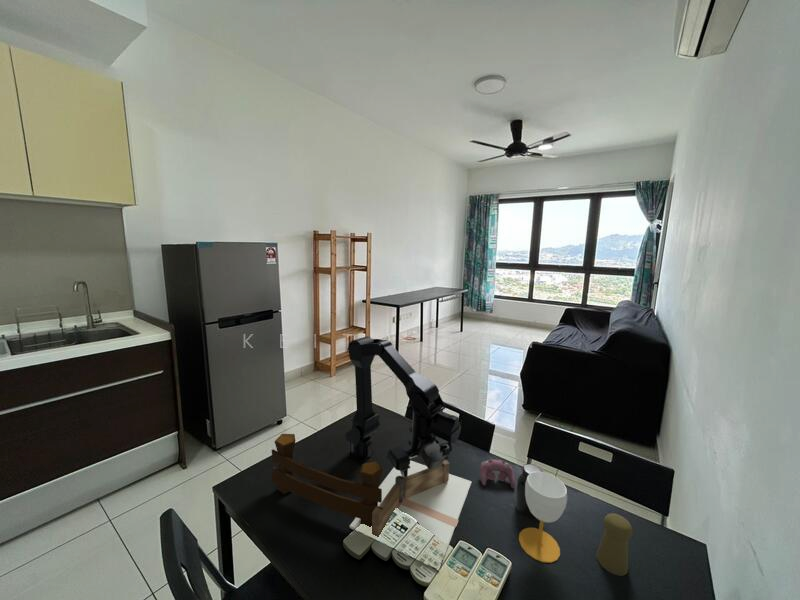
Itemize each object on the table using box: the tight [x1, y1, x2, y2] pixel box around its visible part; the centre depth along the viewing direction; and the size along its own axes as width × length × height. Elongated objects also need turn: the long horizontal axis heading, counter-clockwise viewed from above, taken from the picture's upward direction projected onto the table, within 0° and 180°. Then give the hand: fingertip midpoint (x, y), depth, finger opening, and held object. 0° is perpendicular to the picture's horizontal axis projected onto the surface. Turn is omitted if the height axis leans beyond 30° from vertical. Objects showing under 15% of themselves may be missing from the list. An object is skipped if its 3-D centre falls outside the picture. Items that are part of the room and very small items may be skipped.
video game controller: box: [479, 459, 516, 489], centre depth 96 cm, size 10×5×7 cm, turn 85°
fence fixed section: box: [372, 476, 404, 537], centre depth 81 cm, size 2×14×6 cm, turn 155°
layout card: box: [349, 459, 472, 546], centre depth 87 cm, size 23×30×1 cm
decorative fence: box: [271, 433, 384, 527], centre depth 84 cm, size 34×6×15 cm, turn 67°
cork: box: [595, 512, 633, 577], centre depth 71 cm, size 6×6×11 cm
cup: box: [518, 471, 568, 564], centre depth 75 cm, size 9×9×16 cm
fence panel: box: [403, 459, 451, 499], centre depth 91 cm, size 15×2×6 cm, turn 120°
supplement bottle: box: [515, 463, 544, 520], centre depth 85 cm, size 7×7×12 cm
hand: (418, 476), depth 93 cm, fingers open, 9 cm apart
